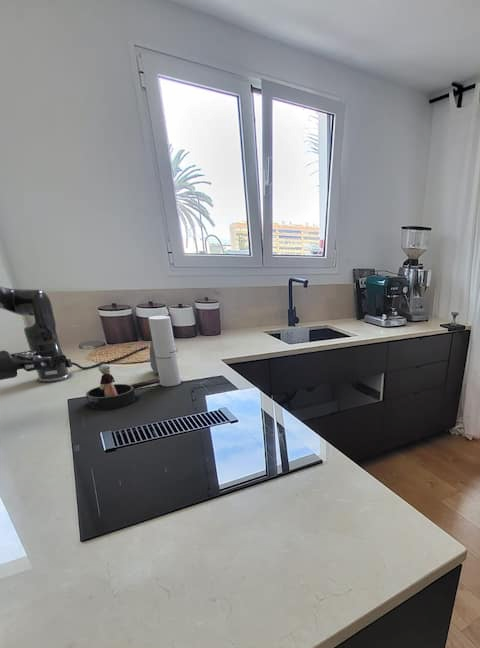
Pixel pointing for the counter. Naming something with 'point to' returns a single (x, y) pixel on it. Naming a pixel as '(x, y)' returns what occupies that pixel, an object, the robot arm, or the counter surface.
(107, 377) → the grandmother figurine
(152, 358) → the decorative rock
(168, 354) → the cylindrical container
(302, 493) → the counter surface
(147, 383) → the pan handle
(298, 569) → the counter surface
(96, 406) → the pan
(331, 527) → the counter surface
